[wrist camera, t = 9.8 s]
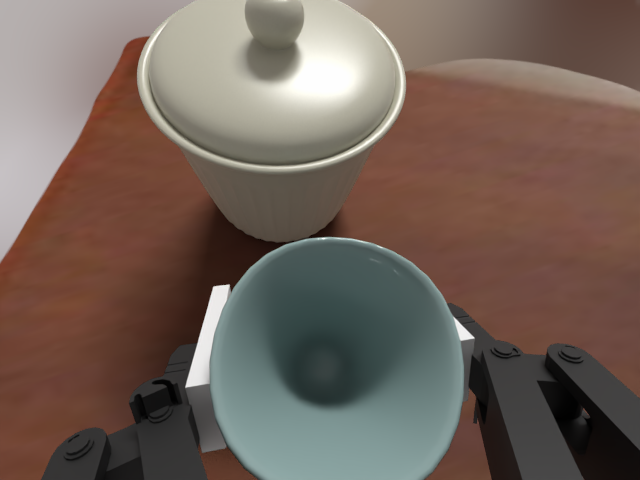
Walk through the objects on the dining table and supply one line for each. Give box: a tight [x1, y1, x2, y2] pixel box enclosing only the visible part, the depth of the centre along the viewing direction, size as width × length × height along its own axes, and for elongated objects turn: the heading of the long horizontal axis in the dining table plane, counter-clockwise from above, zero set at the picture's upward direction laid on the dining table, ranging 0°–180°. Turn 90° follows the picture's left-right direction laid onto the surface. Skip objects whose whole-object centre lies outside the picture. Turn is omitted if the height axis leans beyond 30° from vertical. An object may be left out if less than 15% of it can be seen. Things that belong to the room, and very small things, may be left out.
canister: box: [137, 0, 406, 243], centre depth 28 cm, size 18×18×21 cm
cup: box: [209, 237, 464, 480], centre depth 14 cm, size 8×8×10 cm
